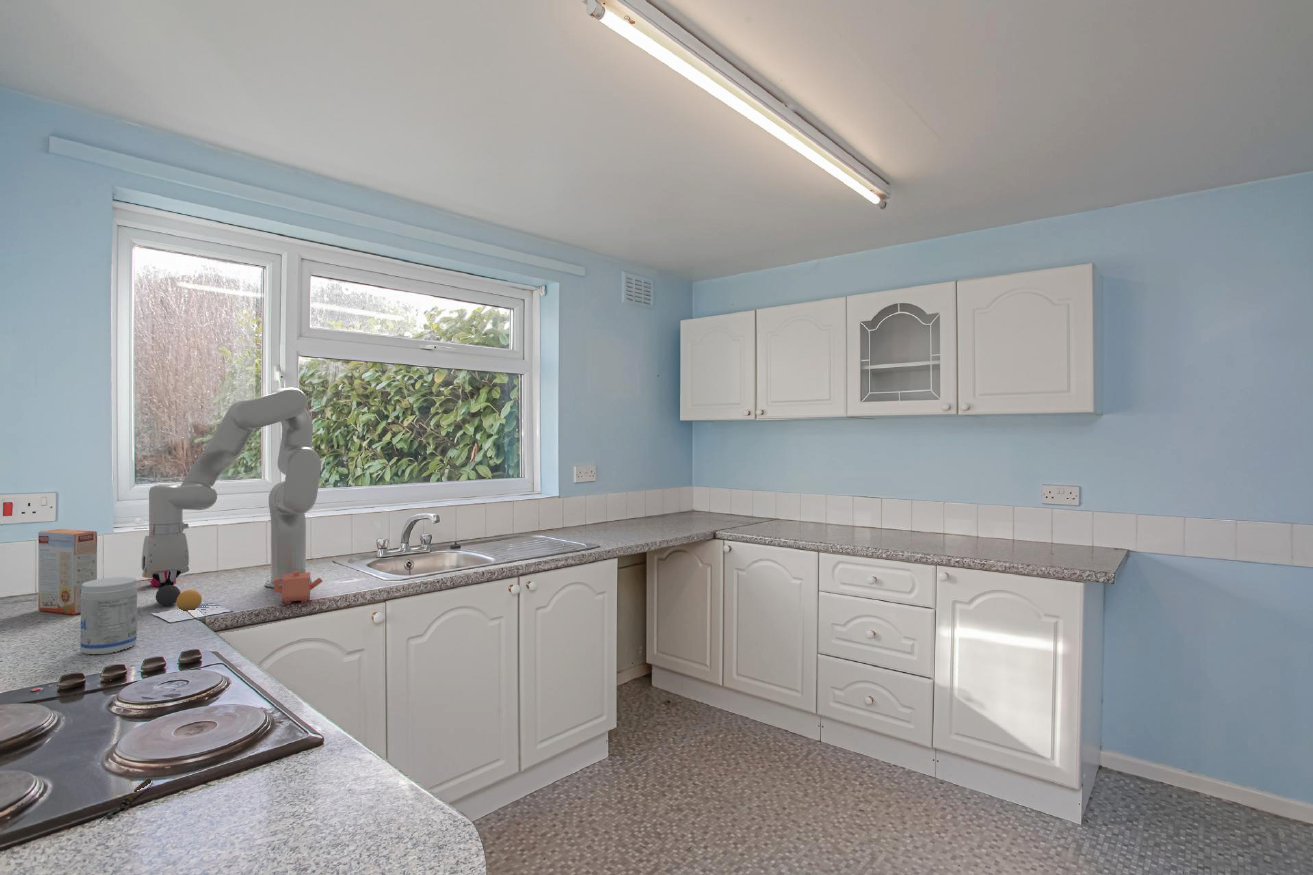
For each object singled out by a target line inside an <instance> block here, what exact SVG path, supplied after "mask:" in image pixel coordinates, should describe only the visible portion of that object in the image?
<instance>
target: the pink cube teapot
mask: <svg viewBox="0 0 1313 875" xmlns="http://www.w3.org/2000/svg"><path fill="white" fill-rule="evenodd" d="M310 577H311V572H306V573H300V571H295V572H293V574H284V575H283V578H279V579H275V580H274V587H273V590H274V593H276V594H277V593H278V594H280V595H281V602H282V603H284V605H290V604H293V602H297V601H299V602H300V603H303V604H305V603H308V601H309V600H310V598H311V591H312V590H313V589H314V588H316V587H317V586H318V585H320V584H322V583H323V579H322V578H320V577H317V578H316V579H315V580H314V581H313V582H312V583H311V582H310ZM281 581H282V588H279V584H278V582H281Z"/></svg>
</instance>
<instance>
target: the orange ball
mask: <svg viewBox="0 0 1313 875" xmlns="http://www.w3.org/2000/svg"><path fill="white" fill-rule="evenodd" d="M180 593H181V594H180V595H179V596H178V597H177V600H176V603H175V604H176V606H177V609H178V608H179V609H181V610H183V611H188V610H195V609H196V608H198V607H199V606H200V605H201V604H202V601H203V599H202V595H201V593H200V592H199V591H197V590H194V589H187V590H183V591H182V592H180Z"/></svg>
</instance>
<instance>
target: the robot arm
mask: <svg viewBox="0 0 1313 875" xmlns="http://www.w3.org/2000/svg"><path fill="white" fill-rule="evenodd" d="M308 400H309V399H308V397H307V395H306V394H305V393H304V391H302V390H301V389H299V388H295V387H287V388H286V387H285V388H278V389H274V390H272V391H271V392H269V394H266V395H263V396H260V397H256V398H252V399H245V400H243V399H242V400H239V401H236V402H234V403H233V404H232V405H230V406H229V408H228V409H227V411H226V412H225V415H224V417H223V418H222V420H221V421H220V423H219V425H218V427H217V429H216V430H215V432H214V434H213V435H212V437H211V439H210V440H209V442H208V444H207V445H206V447H205V448H204V449H203V451H202V452H201V453H200V455H199V456H198V458H196V460H195V462H194V463H193V464H192V466H191V467H190V469H189V471H188V472H187V474H186V476H185V477H184V479H183V481H182V483H181V484H180V485H179V484H158V485H153V486H151V487H150V488H149V491H148V535H145V536H144V539H143V540H144V541H143V545H142V552H141V566H140V567H141V570H142V574H141V577H142V578H146V579H153V578H154V579H155V580H156V581H158V582H159V586H158V590H159V589H160V588H161V587H163V586H166V585H174V584H173V582H174V581H175V579H176V580H177V578H178V577H179V576H180V575H181V574H185V573H188V572H189V571H190V567H189V565H190V554H189V552H190V550H189V546H188V545H189V544H188V540H187V535H186V533H185V532H184V530H185V529H189V523H185V522H184V521H183V520H184V517H183V515H184V514H183V510H186V511H187V510H189V511H202V510H203V511H204V510H207V509H209V508H211V507H213V506H214V505H215V503H216V502H217V499H218V493H217V491H216V489H215V488H214V485H215V484H216V481H217V480H218V478H219V477H220V476H221V474H222V473H223V472H224V471H225V470H226V469H227V468H228V467H229V466H231V465H232V464H233V463H235V462H236V461H237V460H238V459H239V458H240V456H242V453H243V451H244V449H245V448H246V445H247V443H248V441H250V439H251V437H252V435H253V433H254V432H255V430H257V429H260V428H264V427H267V426H271V425H273V424H276V423H280V424H281V425H280V426H281V439H280V446H279V450H278V452H279V453H278V457H277V461H276V462H277V468H278V470H279V471H280V472H281V474H283V475H284V476H285V479H284V480H283V481H280V482H278V483H276V484H275V485H274V486H272V488H271V489H270V492H269V493H268V494H269V495H268V509H269V515H270V516H269V517H270V578H269V579H267V580H265V582H264V586H265V587H267V588H274V580H275V579H279V578H283V575H284V574H293V572H295V571H300V573H307V563H306V562H307V523H306V522H307V521H306V513H308V512H309V511H311V509H312V508H313V507H314V506H315V504H316V501H317V497H318V494H319V493H318V492H319V486H320V479H321V472H322V460H321V458H320V455H319V454H318V452H317V451H316V450H315V449H313V448H312V444H313V435H314V434H313V433H314V425H313V420H312V418H311V415H310V414H309V411H308V410H307V407H308ZM165 571H168V575H167V579H166V580H165V576H164V572H165ZM155 573H156V574H155ZM311 582H312V577H311V576H310V583H311ZM278 584H279V588H282V581H281V582H278Z"/></svg>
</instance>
